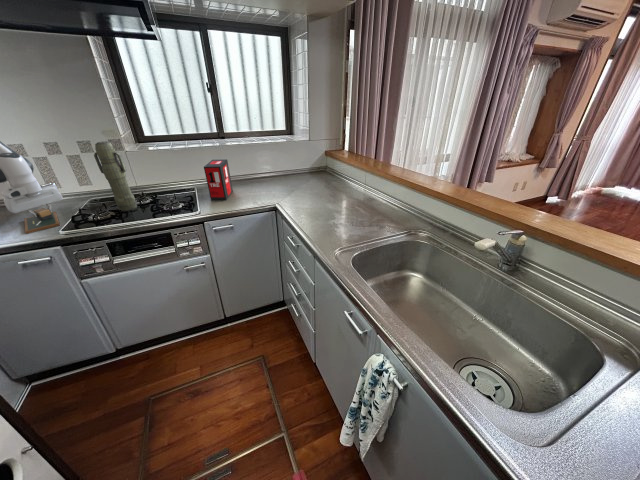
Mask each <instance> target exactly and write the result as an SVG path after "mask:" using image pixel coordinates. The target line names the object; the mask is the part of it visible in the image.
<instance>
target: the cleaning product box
mask: <svg viewBox="0 0 640 480" xmlns="http://www.w3.org/2000/svg"><path fill="white" fill-rule="evenodd" d="M203 170H204V175H205V179H206V183H207V188H208V193H209V198H210V201H212V202H213V201H214V202H216V201H217V202H218V201H219V202H220V201H227V200H228V199H229V198H230V196H231V194H232V193H233V191H234V190H233V189H234V188H233V185H232V178H231V174H230V167H229V161H228V159H226V158H225V159H211V160H210V161H209V162H208V163H207V164H205V165H204V166H203Z"/></svg>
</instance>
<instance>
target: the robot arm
mask: <svg viewBox="0 0 640 480" xmlns="http://www.w3.org/2000/svg"><path fill="white" fill-rule="evenodd" d="M34 168H35V167H34V165H33V163H32V162H31V160H30V159H27V158H26V157H24V156H23V155H21V154H19V153H17V152H16V151H15V150H13V149H12V148H11V147H9V146H8V145H6V144H5V143H3V142H2V141H1V140H0V184H4V183H7V182H9V183H10V185H11V186H10V187H8V188H6V189H5V190H3V191H1V193H0V194H1V196H3V197H4V198H3V203H4V206H5V208H6V210H7V211H8V212H9V213H12V214H19V213H22V212H28V213H29V214H31V215H32V217H33V216H34V217H38V216H39V215H38V213H34V210H33V209H36V208H40V207H43V206H47V207H46V209H48V210H49V211H50V212H53V210H52V207H53V205H52V204H53V203H57V202H60V201H62V200H63V199H64V198H63V197H64V196H63V195H62V194H61V192H60V191H59V190H58V189H59V188H58V186H57V184H55V183H53V182H52V183H51V182H47V183H43V184H40V183H39V180H38V179H37V178H36V177H35V176H34Z"/></svg>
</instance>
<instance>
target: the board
mask: <svg viewBox="0 0 640 480" xmlns="http://www.w3.org/2000/svg"><path fill="white" fill-rule="evenodd" d="M51 214H52V216H53V217H52V218H49V219H46V220H42V219H39V218H37V217H34V216H33V215H32V216H29V217H24V219H23V223H24V232H25V234H26V235H28V234H31V233H35V232H39V231H43V230H47V229H51V228H56V227H59V226H61V224H60V221H59V217H58V215H57V212H56V211H52V212H51Z"/></svg>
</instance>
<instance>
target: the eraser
mask: <svg viewBox="0 0 640 480" xmlns="http://www.w3.org/2000/svg"><path fill="white" fill-rule="evenodd" d="M33 212H34V213H38V215H39V216H38V217H37V218H39V219H42V220H46V219H49V218H52V217H53V216H52V214H51V212H50V211H49V210H48V209H47V208H44V207H42V208H37V209H34V210H33Z"/></svg>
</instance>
